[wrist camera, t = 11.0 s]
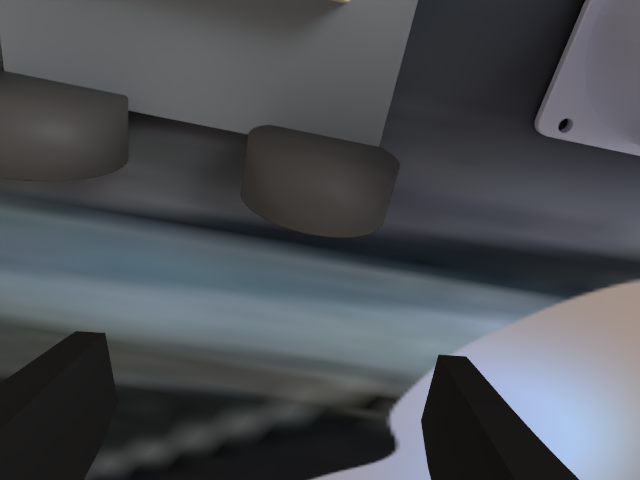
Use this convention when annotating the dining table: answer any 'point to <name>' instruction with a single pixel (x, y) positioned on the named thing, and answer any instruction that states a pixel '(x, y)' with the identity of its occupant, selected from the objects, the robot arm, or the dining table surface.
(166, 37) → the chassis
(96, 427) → the robot arm
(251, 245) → the dining table surface
